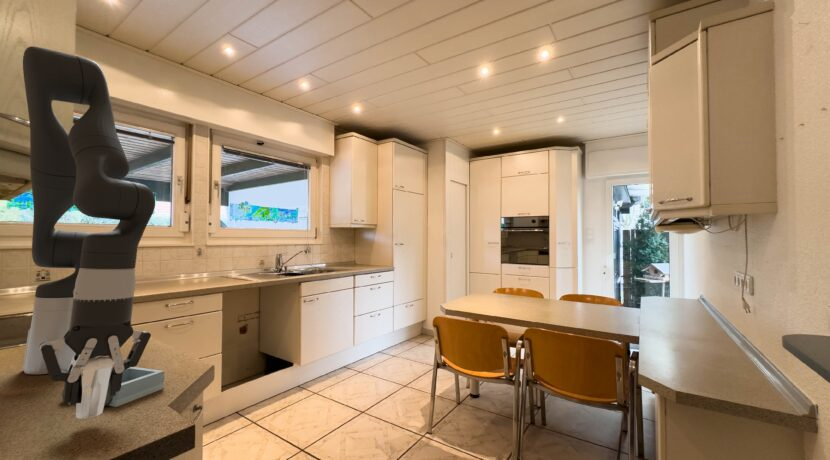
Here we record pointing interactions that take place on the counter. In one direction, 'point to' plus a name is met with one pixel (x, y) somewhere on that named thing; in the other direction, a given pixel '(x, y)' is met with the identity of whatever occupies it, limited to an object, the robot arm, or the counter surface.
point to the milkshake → (93, 386)
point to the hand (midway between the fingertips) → (92, 398)
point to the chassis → (136, 385)
